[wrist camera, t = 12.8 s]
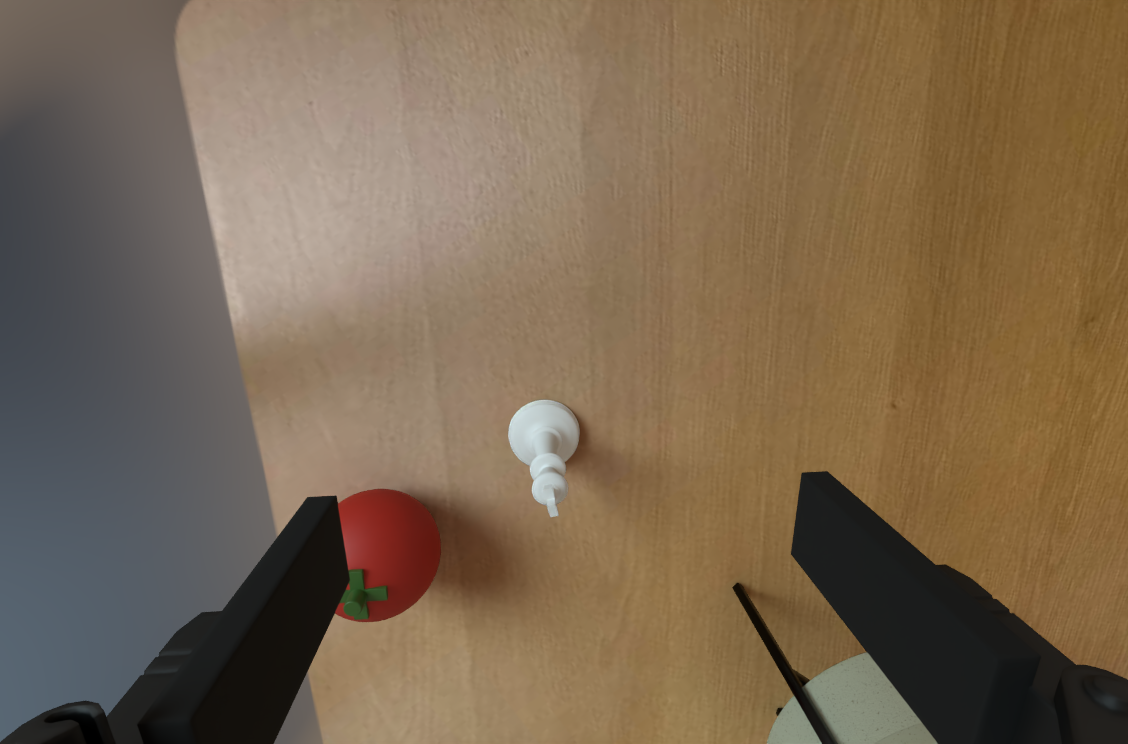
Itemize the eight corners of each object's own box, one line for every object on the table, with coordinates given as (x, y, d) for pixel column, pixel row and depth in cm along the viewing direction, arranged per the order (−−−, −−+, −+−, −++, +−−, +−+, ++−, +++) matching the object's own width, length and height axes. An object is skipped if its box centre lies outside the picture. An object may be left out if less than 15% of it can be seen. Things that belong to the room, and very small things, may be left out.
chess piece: (572, 393, 36) (590, 456, 26) (585, 457, 37) (606, 539, 28) (501, 407, 36) (494, 476, 26) (516, 471, 37) (515, 559, 28)
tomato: (326, 470, 36) (263, 550, 27) (444, 465, 37) (420, 542, 28) (341, 570, 38) (288, 673, 30) (452, 563, 39) (432, 663, 30)
